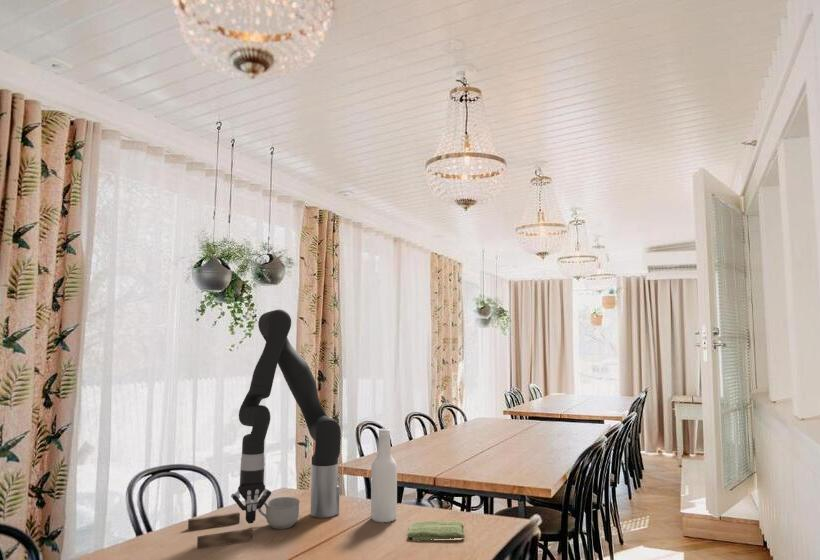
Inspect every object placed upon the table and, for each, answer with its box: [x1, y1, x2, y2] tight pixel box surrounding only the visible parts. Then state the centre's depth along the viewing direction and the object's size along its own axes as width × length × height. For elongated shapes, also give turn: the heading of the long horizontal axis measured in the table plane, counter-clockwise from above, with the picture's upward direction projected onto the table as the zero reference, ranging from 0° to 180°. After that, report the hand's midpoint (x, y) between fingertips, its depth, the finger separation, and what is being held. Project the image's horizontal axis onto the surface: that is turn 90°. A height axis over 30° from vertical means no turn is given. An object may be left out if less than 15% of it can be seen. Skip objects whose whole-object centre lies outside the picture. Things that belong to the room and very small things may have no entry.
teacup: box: [257, 496, 300, 530], centre depth 188 cm, size 14×11×8 cm
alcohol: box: [370, 427, 398, 524], centre depth 196 cm, size 9×9×30 cm
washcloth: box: [406, 519, 466, 540], centre depth 180 cm, size 13×18×3 cm
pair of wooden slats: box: [187, 512, 254, 549], centre depth 180 cm, size 16×20×3 cm
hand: (250, 522), depth 184 cm, fingers closed
